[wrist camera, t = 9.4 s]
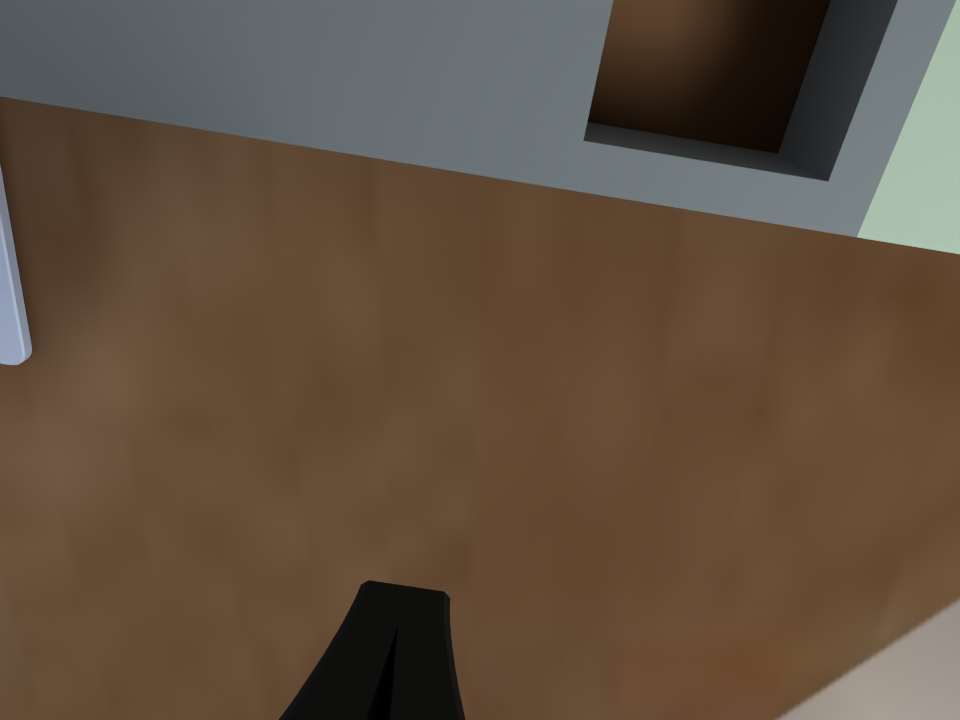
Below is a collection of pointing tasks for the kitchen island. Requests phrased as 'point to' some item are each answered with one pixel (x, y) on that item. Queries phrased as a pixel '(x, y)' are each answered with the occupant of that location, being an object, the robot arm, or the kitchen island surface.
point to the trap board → (520, 98)
